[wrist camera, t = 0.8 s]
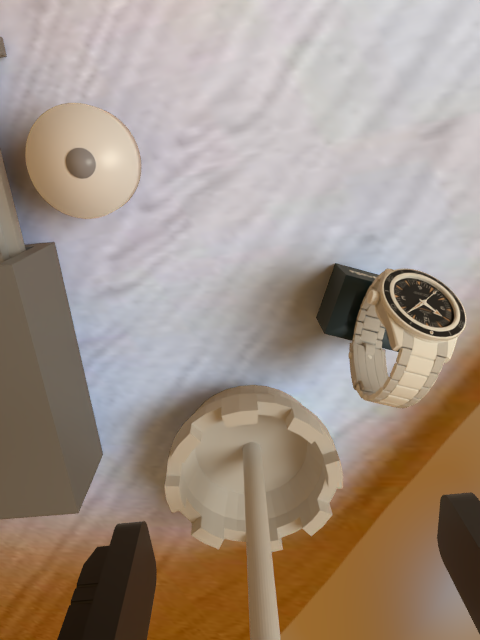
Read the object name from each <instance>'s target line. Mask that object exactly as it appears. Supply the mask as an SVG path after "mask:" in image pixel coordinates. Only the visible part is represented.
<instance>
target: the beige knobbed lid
mask: <svg viewBox="0 0 480 640" xmlns="http://www.w3.org/2000/svg"><path fill="white" fill-rule="evenodd" d="M25 157H26V165H27V170H28V173H29V176H30V178H31V181H32V183H33V185H34V186H35V188H36V190H37V191H38V192H39V194H40V195H41V196H42V197H43V198H44V199H45V201H47V202H48V203H49V204H50V205H51V206H52V207H54V208H55V209H57V210H59V211H60V212H62V213H64V214H67V215H69V216H73V217H77V218H84V219H92V218H98V217H102V216H105V215H107V214H109V213H112V212H113V211H115V210H117V209H119V208H120V207H122V206H123V205H124V204H126V203H127V202H128V201H129V200H130V198H131V197H132V196H133V194H134V193H135V191H136V189H137V187H138V184H139V181H140V176H141V157H140V152H139V149H138V146H137V143H136V141H135V139H134V137H133V136H132V134H131V132H130V131H129V130H128V128H127V127H126V126H125V125H124V124H123V123H122V122H121V121H120V120H119V119H118V118H116V117H115V116H114V115H112V114H110V113H109V112H107V111H105V110H102V109H100V108H97V107H93V106H90V105H86V104H81V103H67V104H61V105H58V106H55V107H53V108H51V109H49V110H48V111H46V112H45V113H43V114H42V115H41V116H40V117H39V118H38V119H37V121H36V122H35V123H34V125H33V126H32V128H31V130H30V132H29V135H28V138H27V142H26V150H25Z"/></svg>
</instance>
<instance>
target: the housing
mask: <svg viewBox="0 0 480 640" xmlns="http://www.w3.org/2000/svg"><path fill="white" fill-rule="evenodd" d="M25 249H26V251H24V252H22V253H20V254H18V255H16V256H14V257H12V258H10V259H8V260H6V261H4V262H0V519H11V518H24V517H37V516H50V515H63V514H76V513H79V511H80V508H81V506H82V503H83V501H84V499H85V496H86V494H87V492H88V489H89V487H90V484H91V482H92V480H93V477H94V475H95V472H96V470H97V468H98V465H99V463H100V460H101V458H102V456H103V453H102V448H101V444H100V439H99V435H98V431H97V426H96V422H95V417H94V413H93V409H92V404H91V400H90V396H89V391H88V387H87V382H86V378H85V374H84V369H83V365H82V360H81V356H80V352H79V347H78V343H77V339H76V334H75V330H74V325H73V321H72V317H71V312H70V308H69V303H68V299H67V295H66V290H65V286H64V282H63V277H62V273H61V268H60V264H59V260H58V255H57V251H56V247H55V242H51V243H39V244H27V245H25Z"/></svg>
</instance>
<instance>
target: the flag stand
mask: <svg viewBox="0 0 480 640" xmlns="http://www.w3.org/2000/svg"><path fill="white" fill-rule="evenodd" d="M164 488H165V494H166V500H167V503H168V505H169V508H170V510H171V512H172V513H174V512H177V511H180V512H181V513H182V514H183V515H184V516H185V517H186V518H187V519H188V520H189V521H190V522H191V523H192V531H191V535H192V536H193V537H195V538H197V539H198V540H200V541H201V542H203V543H205V544H207V545H210V546H212V547H215V548H217V549H219V548H220V546H221V544H222V542H223V541H224V539H229V540H233V541H242V542H246V545H247V570H248V594H249V619H250V640H280V631H279V621H278V611H277V601H276V591H275V582H274V572H273V562H272V552H274V551H279V550H283V548H282V541H281V538H282V537H284V536H287V535H289V534H292V533H295V532H297V531H298V530H300V529H304V530H305V531H306V532H307V533H308V534H310V535H311V536H312V535H313V534H314V533H316V532H317V531H318V530H319V529H320V528H322V527H323V526H324V524H325V523H326V522H327V521H328V520H329V518H330V517H331V516H332V511H331V508H330V504H329V503H330V501H331V499H332V497H333V495H334V493H335V492H336V488H343V472H342V467H341V463H340V459H339V456H338V454H337V451H336V448H335V445H334V442H333V440H332V438H331V436H330V434H329V432H328V430H327V428H326V427H325V425H324V424H323V423H322V422H321V421H320V419H319V418H318V417H317V416H316V415H315V414H313V413H312V412H311V411H309V410H308V409H307V408H306V407H304V406H302V404H301V403H300V402H298V401H297V400H296V399H294V398H293V397H292V396H290V395H288V394H286V393H284V392H282V391H280V390H278V389H274V388H271V387H267V386H258V385H247V386H238V387H234V388H230V389H226V390H224V391H222V392H220V393H217V394H215V395H214V396H212V397H211V398H209V399H208V400H207V401H205V402H204V403H203V404H202V405H201V406H200V407H199V408H198V409H197V410H196V412H195V413H194V414H193V415H192V416H191V417H190V418H189V419H188V420H187V421H186V422H185V423H184V424H183V425H182V426H181V428H180V430H179V431H178V433H177V434H176V436H175V438H174V440H173V443H172V446H171V449H170V452H169V457H168V463H167V474H166V480H165V485H164Z"/></svg>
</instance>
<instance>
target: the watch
mask: <svg viewBox="0 0 480 640" xmlns="http://www.w3.org/2000/svg"><path fill="white" fill-rule="evenodd" d="M316 318H317V320H318V322H319V324H320V326H321V328H322V330H323V332H324V333H325V334H328V335H332V336H336V337H340V338H344V339H348V340H352V343H350V352H349V359H350V370H351V378H352V383H353V388H354V389H355V390H357V392H358V393H359V395H360V397H361V398H363V399H364V400H366V401H371V402H375V403H379V404H384V405H388V406H392V407H396V408H407V407H409V406H412V405H414V404H416V403H417V402H419V401H420V400H421V399H422V398H423V397H424V396H425V395H426V394H427V393H428V392H429V390H430V388H431V387H432V386H433V384H434V383H435V381H436V379H437V377H438V374H439V373H440V371H441V369H442V366H443V364H444V363H447V362H448V361H449V360H450V359H451V356H452V353H453V351H454V348H455V345H456V341H457V338H458V336H459V335H460V334H461V333H462V332H463V330H464V329H465V326H466V314H465V310H464V308H463V305H462V304H461V302H460V300H459V299H458V298H457V296H456V295H455V294H454V293H453V292H452V291H451V290H450V289H449V288H448V287H447V286H446V285H445V284H443V283H442V282H441V281H439V280H438V279H436V278H434V277H433V276H431V275H429V274H426V273H424V272H421V271H418V270H414V269H397V270H393V269H386V270H385V271H384V272H382V273H381V274H380V275H377V274H373V273H370V272H366V271H362V270H359V269H355V268H351V267H347V266H344V265H340V264H336V263H335V266H334V269H333V272H332V275H331V278H330V280H329V283H328V286H327V289H326V292H325V295H324V297H323V300H322V303H321V306H320V309H319V312H318V314H317V317H316ZM382 348H385V349H389V350H393V351H397V352H399V353H398V356H397V360H396V362H397V363H395V364H394V367H393V369H392V371H391V373H390V377H388V373H387V367H386V357H385V350H384V349H382Z"/></svg>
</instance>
